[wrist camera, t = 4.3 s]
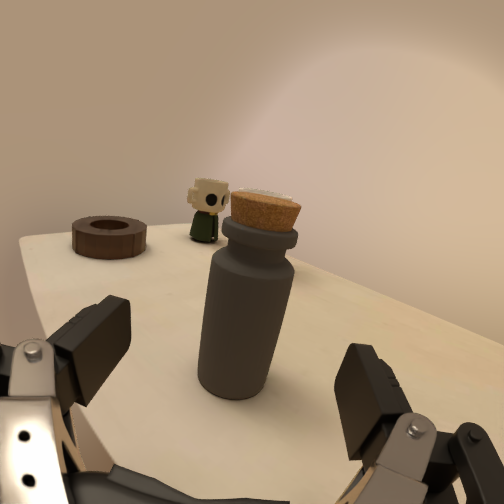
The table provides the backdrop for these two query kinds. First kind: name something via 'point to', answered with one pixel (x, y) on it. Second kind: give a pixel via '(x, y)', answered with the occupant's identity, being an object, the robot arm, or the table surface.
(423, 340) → the table surface
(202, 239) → the character mug
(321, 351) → the table surface
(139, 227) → the stand
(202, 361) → the bottle
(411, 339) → the table surface
